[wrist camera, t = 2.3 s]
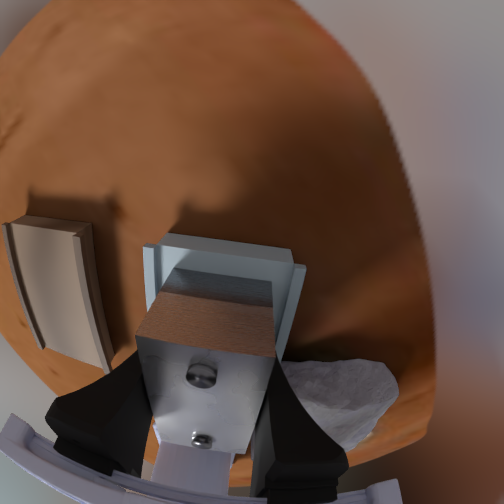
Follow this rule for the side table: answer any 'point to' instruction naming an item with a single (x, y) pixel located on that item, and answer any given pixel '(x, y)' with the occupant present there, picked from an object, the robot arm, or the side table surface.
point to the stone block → (342, 396)
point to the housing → (208, 358)
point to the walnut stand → (59, 286)
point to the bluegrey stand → (229, 271)
